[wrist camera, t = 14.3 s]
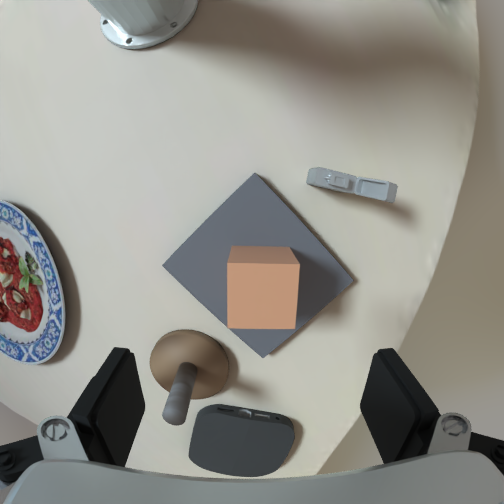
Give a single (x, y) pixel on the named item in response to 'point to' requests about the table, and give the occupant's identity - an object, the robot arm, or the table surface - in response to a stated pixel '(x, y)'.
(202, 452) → the media streaming box
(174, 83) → the table surface
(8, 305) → the ceramic plate
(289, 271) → the peach cube block
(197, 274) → the mat
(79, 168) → the table surface
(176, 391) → the round pedestal stand
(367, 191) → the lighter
